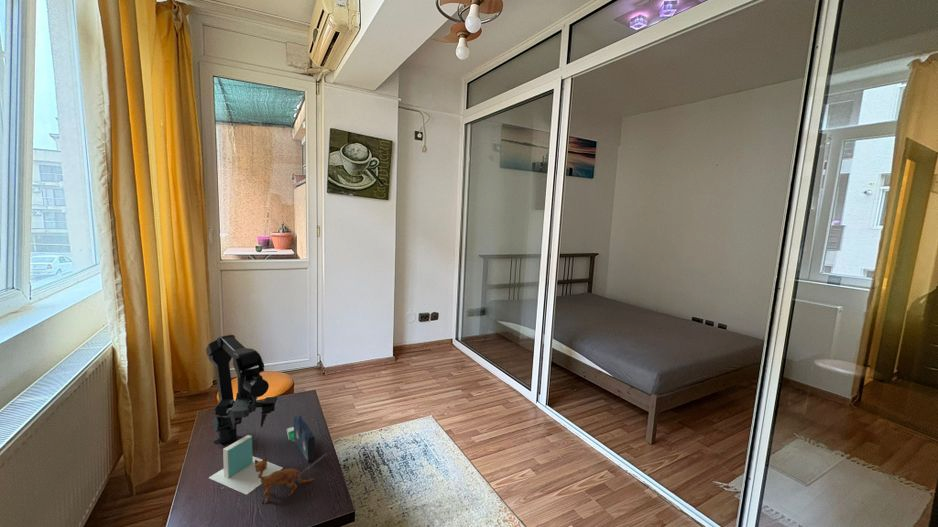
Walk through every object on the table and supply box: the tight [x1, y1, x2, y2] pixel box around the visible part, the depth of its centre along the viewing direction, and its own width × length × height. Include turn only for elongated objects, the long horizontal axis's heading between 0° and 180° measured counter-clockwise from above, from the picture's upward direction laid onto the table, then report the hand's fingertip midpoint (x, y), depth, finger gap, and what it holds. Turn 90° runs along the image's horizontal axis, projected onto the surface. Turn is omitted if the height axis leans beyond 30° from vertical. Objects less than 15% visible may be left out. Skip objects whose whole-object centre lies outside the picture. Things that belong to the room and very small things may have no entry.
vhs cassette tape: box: [293, 414, 316, 463], centre depth 139 cm, size 18×3×10 cm, turn 39°
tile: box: [222, 434, 254, 478], centre depth 126 cm, size 2×9×10 cm, turn 159°
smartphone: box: [286, 426, 296, 443], centre depth 148 cm, size 7×1×15 cm
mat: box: [208, 455, 284, 496], centre depth 125 cm, size 18×14×1 cm
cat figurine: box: [255, 456, 315, 505], centre depth 118 cm, size 18×7×14 cm, turn 128°
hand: (247, 427), depth 130 cm, fingers open, 9 cm apart
